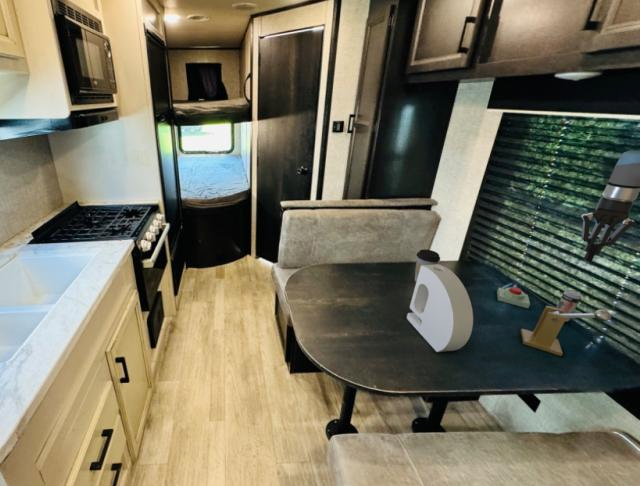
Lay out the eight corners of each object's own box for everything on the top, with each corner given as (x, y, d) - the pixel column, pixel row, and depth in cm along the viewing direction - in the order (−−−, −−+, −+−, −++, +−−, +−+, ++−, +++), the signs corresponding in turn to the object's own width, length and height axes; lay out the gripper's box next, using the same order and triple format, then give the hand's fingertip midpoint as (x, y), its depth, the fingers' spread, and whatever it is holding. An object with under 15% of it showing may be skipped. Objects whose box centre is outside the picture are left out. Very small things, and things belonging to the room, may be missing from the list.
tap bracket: (556, 341, 111) (573, 310, 105) (561, 356, 105) (579, 323, 99) (520, 330, 116) (534, 300, 111) (522, 343, 110) (538, 312, 105)
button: (519, 291, 133) (521, 288, 132) (520, 296, 130) (522, 292, 130) (509, 289, 135) (510, 285, 134) (509, 293, 132) (511, 289, 131)
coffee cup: (431, 278, 149) (440, 250, 143) (433, 288, 141) (442, 260, 135) (409, 274, 153) (417, 247, 147) (410, 284, 145) (418, 255, 139)
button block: (525, 298, 135) (529, 291, 133) (528, 308, 129) (531, 300, 127) (496, 291, 140) (499, 283, 138) (497, 300, 134) (501, 292, 132)
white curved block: (422, 317, 124) (438, 261, 113) (462, 357, 105) (485, 295, 94) (406, 318, 123) (420, 263, 113) (443, 359, 104) (464, 296, 94)
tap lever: (610, 317, 99) (608, 307, 99) (613, 323, 97) (611, 313, 96) (548, 317, 108) (546, 308, 108) (550, 323, 106) (548, 313, 105)
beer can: (548, 314, 125) (561, 289, 120) (561, 314, 125) (574, 289, 120) (558, 322, 121) (572, 296, 116) (571, 322, 120) (586, 297, 115)
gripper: (642, 198, 105) (609, 260, 114) (587, 193, 112) (561, 252, 121) (651, 204, 99) (616, 269, 109) (593, 198, 106) (565, 259, 115)
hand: (587, 260), depth 115 cm, fingers closed
